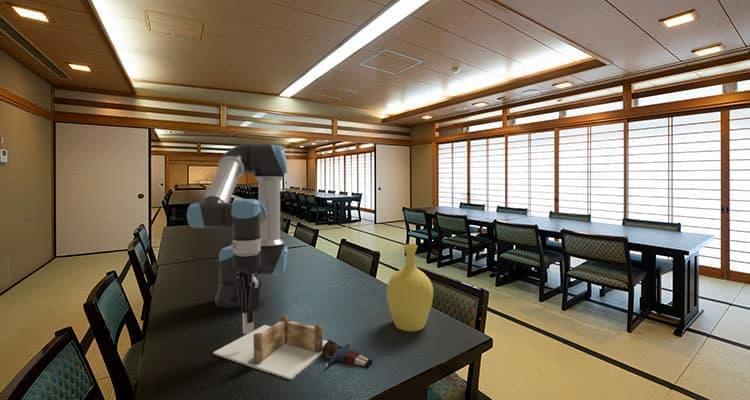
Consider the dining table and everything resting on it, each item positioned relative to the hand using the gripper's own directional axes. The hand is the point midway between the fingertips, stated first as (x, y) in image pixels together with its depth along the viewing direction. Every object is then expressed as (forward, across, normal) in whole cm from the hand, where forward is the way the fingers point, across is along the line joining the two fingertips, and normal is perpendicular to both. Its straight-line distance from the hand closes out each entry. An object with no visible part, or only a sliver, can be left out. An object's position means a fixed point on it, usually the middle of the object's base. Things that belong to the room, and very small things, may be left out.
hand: (248, 331), depth 96 cm
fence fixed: (+5, +11, +12) cm, 17 cm away
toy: (+6, +24, +17) cm, 30 cm away
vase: (+6, +22, +48) cm, 53 cm away
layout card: (+5, +5, +6) cm, 10 cm away
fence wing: (+4, +7, +4) cm, 9 cm away
